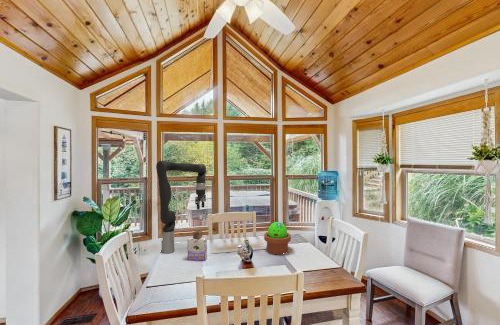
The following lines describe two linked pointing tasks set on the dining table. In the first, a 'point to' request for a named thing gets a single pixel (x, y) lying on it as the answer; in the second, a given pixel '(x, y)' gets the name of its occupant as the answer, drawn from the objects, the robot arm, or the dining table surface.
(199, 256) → the candy box
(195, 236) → the walnut cube
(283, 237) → the potted cactus
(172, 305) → the dining table surface
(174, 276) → the dining table surface
